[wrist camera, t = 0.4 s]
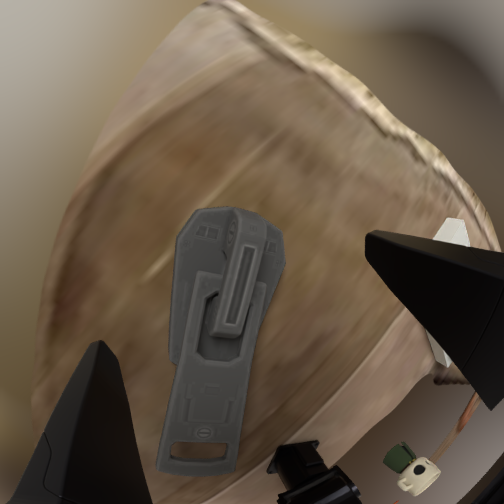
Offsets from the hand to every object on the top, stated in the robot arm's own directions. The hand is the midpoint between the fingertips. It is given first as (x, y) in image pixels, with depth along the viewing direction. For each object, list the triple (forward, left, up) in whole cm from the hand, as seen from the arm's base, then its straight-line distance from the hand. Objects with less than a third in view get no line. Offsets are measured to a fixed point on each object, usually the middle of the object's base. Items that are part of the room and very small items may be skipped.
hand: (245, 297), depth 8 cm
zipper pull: (-10, -3, -16) cm, 19 cm away
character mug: (-36, -46, -15) cm, 61 cm away
